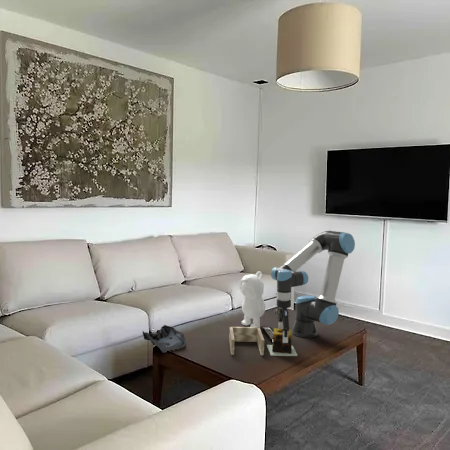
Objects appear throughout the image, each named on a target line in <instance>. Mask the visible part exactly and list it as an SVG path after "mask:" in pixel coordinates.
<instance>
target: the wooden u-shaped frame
mask: <svg viewBox="0 0 450 450" xmlns="http://www.w3.org/2000/svg"><path fill="white" fill-rule="evenodd" d="M228 333H229V335H228V336H229V337H228V341H229V349H230V354H231V355H233V356H235V342H239V343H240V342H242V343H243V342H244V343H245V342H246V343H253V342H254V343H257V344H256V345H257V347H258V350H259V354H260V356H264V355H265V339H264V335H263V333H262V330H261V326H260V327H250V326H229V332H228Z"/></svg>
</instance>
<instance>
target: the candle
mask: <svg viewBox="0 0 450 450" xmlns="http://www.w3.org/2000/svg"><path fill="white" fill-rule="evenodd" d="M272 332H273V333H272V334H273V335H272V336H273V337H272V345H273V346H272V351H273V352H278V353H290V354H291V350H292V346H293V345H292V341H293V340H292V337H293V334H292V328H291V329H290V328H289V331H288V343H283V331H282V329H278V328H277V327H276V328H275V327H273V331H272Z"/></svg>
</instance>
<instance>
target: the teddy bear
mask: <svg viewBox="0 0 450 450" xmlns="http://www.w3.org/2000/svg"><path fill="white" fill-rule="evenodd" d="M262 278H263V272H262V271H259V270H258V271H257V272H256V273H255V274H253V273H250V274H246V275H243V277H242V278H241V279H240V281H239V289H240V292H241V294H242V295H243V296H244V298H243V301H242V303H241V310H242V313H243V314H244V315H243V320H241V325H242V326H244V327H248V326H249V327H260V328H261V324H260V323H261V318H260V317H262V316H263V315H264V314H265V312H266V303H265V301H264V298H263V295H264V291H265V290H264V289H265V284H264V282H263V280H262ZM251 320H252V321H251ZM251 322H252V323H251Z"/></svg>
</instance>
